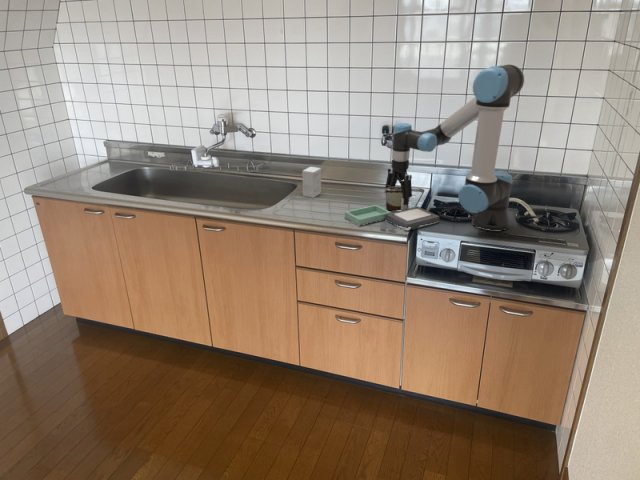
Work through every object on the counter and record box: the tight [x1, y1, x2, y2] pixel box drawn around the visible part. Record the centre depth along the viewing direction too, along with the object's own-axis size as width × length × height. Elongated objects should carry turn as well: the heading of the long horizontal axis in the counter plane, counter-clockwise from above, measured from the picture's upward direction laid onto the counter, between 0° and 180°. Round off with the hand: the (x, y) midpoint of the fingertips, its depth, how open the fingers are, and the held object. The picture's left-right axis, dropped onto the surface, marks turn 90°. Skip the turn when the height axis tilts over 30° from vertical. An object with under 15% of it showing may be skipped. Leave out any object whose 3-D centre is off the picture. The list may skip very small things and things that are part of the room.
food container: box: [383, 185, 411, 210], centre depth 225 cm, size 12×6×10 cm, turn 80°
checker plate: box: [394, 209, 431, 222], centre depth 211 cm, size 9×13×1 cm
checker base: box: [384, 206, 440, 231], centre depth 212 cm, size 14×18×4 cm
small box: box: [301, 166, 322, 199], centre depth 242 cm, size 8×6×13 cm
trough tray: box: [344, 204, 392, 226], centre depth 216 cm, size 11×17×3 cm, turn 121°
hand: (397, 207), depth 226 cm, fingers open, 8 cm apart
